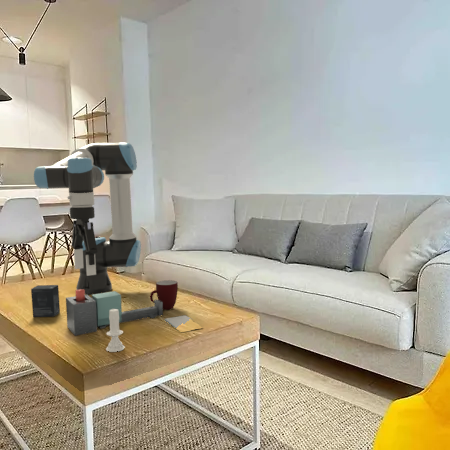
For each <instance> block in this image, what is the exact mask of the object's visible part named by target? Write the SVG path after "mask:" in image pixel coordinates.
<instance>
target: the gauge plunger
mask: <svg viewBox="0 0 450 450" xmlns="http://www.w3.org/2000/svg"><path fill="white" fill-rule="evenodd" d="M85 295H86V294H85V290H84V289H79V290H77V289H75V296H76V302H77V301H84V300H85Z"/></svg>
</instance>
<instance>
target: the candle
mask: <svg viewBox="0 0 450 450" xmlns="http://www.w3.org/2000/svg"><path fill="white" fill-rule="evenodd" d="M109 320H110V325H109V331H107V332H106V335H107V336H108V337H110V341H109V342H108V345H107V347H106V348H105V350H106V352H108V351H109V352H110V353H116V352H117V351H118V352H121V351H123V350H124V348H125V349H126V346H125V345H123V342H122V341H121V340H120V338H119V336H121V335H122V334H123V333H124V331H123V330H121V329H120V323H119V311H118V309H112V310H110V311H109ZM118 352H117V353H118Z"/></svg>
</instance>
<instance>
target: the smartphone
mask: <svg viewBox="0 0 450 450" xmlns="http://www.w3.org/2000/svg"><path fill="white" fill-rule="evenodd" d="M189 319H192V318H191V317H189V316H188V315H186V314H184V315H179V316H173V317H166V318H164V320H165V321H166V323H167V322H168V323H169V324H171V325H172V326H173V327H175V328H177V327H178V326H179V325H181V324H182V323H183V324H185V323H186V322H187V321H189ZM165 321H164V322H165ZM168 323H167V324H168ZM169 324H168V325H169ZM172 326H171V327H172ZM173 327H172V328H173Z"/></svg>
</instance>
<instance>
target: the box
mask: <svg viewBox="0 0 450 450" xmlns="http://www.w3.org/2000/svg"><path fill="white" fill-rule="evenodd" d="M30 291H31V292H30V293H31V305H32V308H31V309H32V318H42V317H43V318H47V317H49V318H50V317H55V316H57V315H58V314H60V313H61V309H60V293H59V292H60V291H59V284H41V285H36V286H34V287H32V288H30Z"/></svg>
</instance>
